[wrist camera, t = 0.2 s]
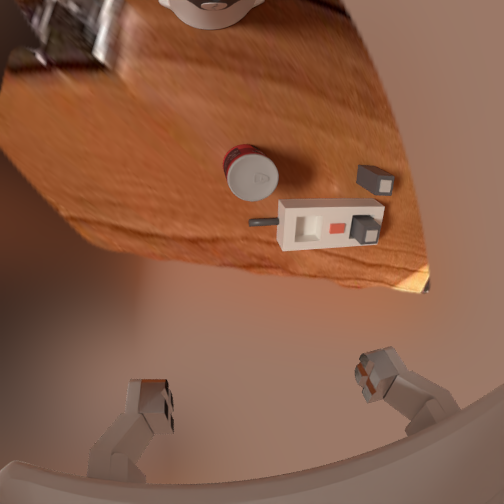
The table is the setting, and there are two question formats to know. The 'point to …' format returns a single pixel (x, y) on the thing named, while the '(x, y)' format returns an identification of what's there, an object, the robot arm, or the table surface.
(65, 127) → the table surface
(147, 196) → the table surface
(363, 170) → the plug
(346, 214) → the pdu strip
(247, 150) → the canned food
